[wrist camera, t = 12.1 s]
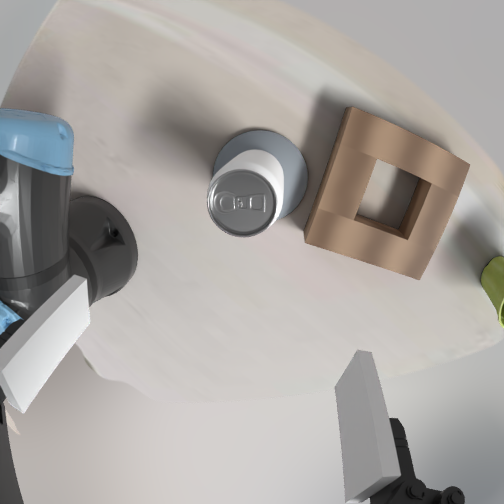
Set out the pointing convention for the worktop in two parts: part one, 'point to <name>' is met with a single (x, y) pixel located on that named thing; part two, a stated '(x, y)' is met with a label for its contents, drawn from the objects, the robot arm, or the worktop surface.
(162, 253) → the worktop surface
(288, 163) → the slate mat
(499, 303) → the plant pot
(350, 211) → the pocket block
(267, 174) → the can
